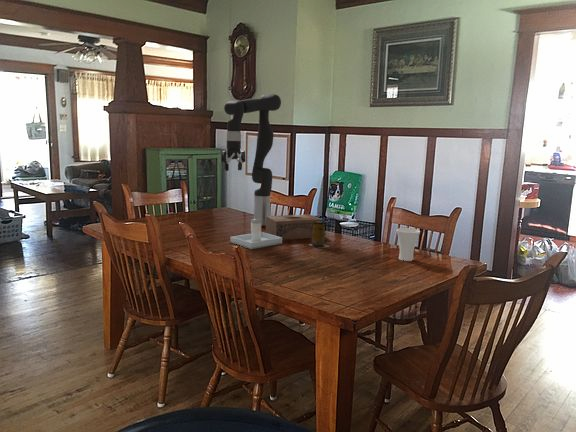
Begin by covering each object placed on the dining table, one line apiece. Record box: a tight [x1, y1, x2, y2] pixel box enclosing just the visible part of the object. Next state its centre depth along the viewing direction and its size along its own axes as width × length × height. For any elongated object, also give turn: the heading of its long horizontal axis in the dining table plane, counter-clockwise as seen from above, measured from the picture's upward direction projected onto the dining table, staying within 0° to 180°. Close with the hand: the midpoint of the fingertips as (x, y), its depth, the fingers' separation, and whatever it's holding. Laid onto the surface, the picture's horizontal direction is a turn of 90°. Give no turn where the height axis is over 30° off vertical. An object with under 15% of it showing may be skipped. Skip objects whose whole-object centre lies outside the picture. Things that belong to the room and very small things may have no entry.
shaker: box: [250, 218, 262, 242], centre depth 244 cm, size 5×5×11 cm
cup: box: [396, 227, 421, 262], centre depth 224 cm, size 10×10×14 cm
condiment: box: [308, 220, 331, 249], centre depth 244 cm, size 7×8×12 cm
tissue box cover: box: [265, 213, 322, 241], centre depth 264 cm, size 26×14×10 cm, turn 113°
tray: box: [230, 231, 283, 250], centre depth 245 cm, size 20×16×3 cm
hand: (233, 170), depth 265 cm, fingers open, 8 cm apart
